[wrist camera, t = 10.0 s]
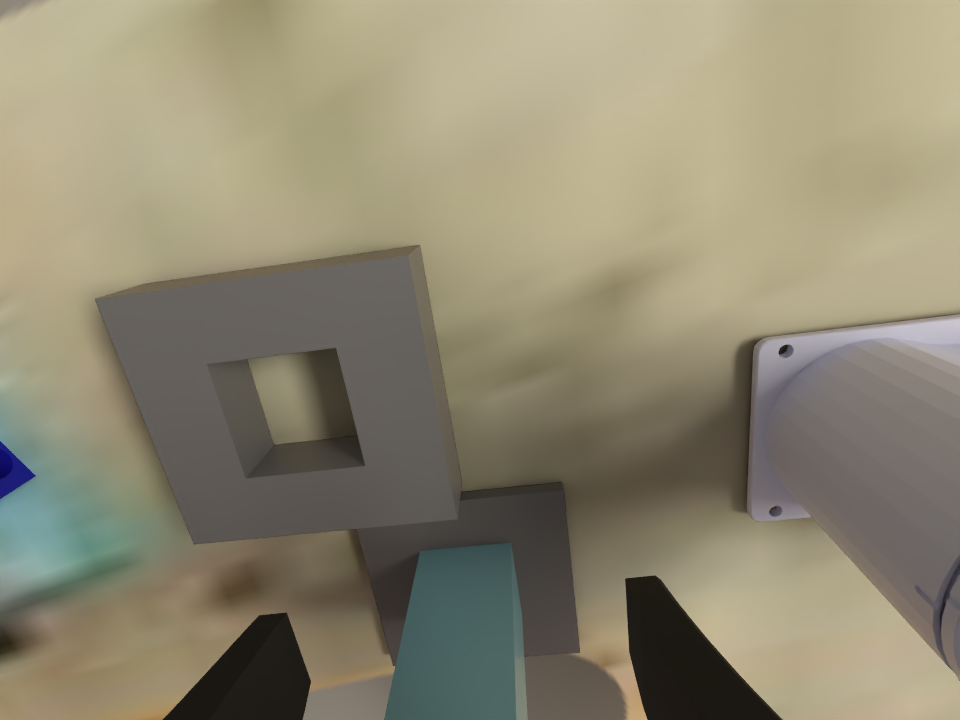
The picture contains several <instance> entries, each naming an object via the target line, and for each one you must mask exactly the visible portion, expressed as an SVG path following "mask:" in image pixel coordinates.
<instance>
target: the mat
mask: <svg viewBox="0 0 960 720" xmlns="http://www.w3.org/2000/svg"><path fill="white" fill-rule="evenodd" d="M356 530H357V533H358V537H359V541H360V544H361V548H362V552H363V556H364V559H365V563H366V567H367V570H368V574H369V578H370V582H371V585H372V589H373V593H374V596H375V600H376V604H377V608H378V611H379V615H380V619H381V622H382V626H383V630H384V634H385V637H386V641H387V645H388V648H389V652H390V656H391V660H392V663H393V666H396V662H397V657H398V653H399V648H400V643H401V638H402V634H403V629H404V624H405V620H406V615H407V610H408V606H409V601H410V596H411V591H412V587H413V582H414V577H415V573H416V568H417V563H418V559H419V554H420V551H428V550H438V549H449V548H459V547H470V546H480V545H491V544H501V543H511V546H512V552H513V559H514V565H515V572H516V578H517V584H518V591H519V597H520V604H521V610H522V623H523V643H524V657H526V656H539V655H554V654H568V653H580V647H579V637H578V627H577V617H576V607H575V597H574V587H573V577H572V567H571V557H570V547H569V538H568V528H567V518H566V508H565V498H564V489H563V484H562V482H559V483H549V484H539V485H529V486H519V487H508V488H498V489H488V490H478V491H468V492H461V495H460V503H459V511H458V519H456V520H445V521H435V522H424V523H414V524H403V525H393V526H382V527H372V528H361V529H356Z"/></svg>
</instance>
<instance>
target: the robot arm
mask: <svg viewBox="0 0 960 720" xmlns="http://www.w3.org/2000/svg"><path fill="white" fill-rule="evenodd" d="M786 344H787V345H788V348H787V351H786V352H785V353H783V354H780V355H779V353H778V352H779V349H780V348H781V347H782V346H783V345H786ZM774 506H777V508H775V509H774V510H772V511H769V510H770V509H771V508H772V507H774ZM747 512H748V514H749V515H750V516H751V518H752V519H753V520H755V521H758V522H765V521H776V520H788V519H799V518H810V517H812V518H813V519H814V520H815V521H816V522H817V523H818V525H819V526H820V527H821V528H822V529H823V530H824V531H825V532H826V533H827V534H828V535H829V537H830V538H831V539H832V540H833V541H834V542H835V543H836V544H837V545H838V546H839V548H840V549H841V550H842V551H843V552H844V553H845V554H846V555H847V556H848V557H849V558H850V560H851V561H852V562H853V563H854V564H855V565H856V566H857V567H858V568H859V569H860V571H861V572H862V573H863V574H864V575H865V576H866V577H867V578H868V579H869V580H870V581H871V583H872V584H873V585H874V586H875V587H876V588H877V589H878V590H879V591H880V592H881V594H882V595H883V596H884V597H885V598H886V599H887V600H888V601H889V602H890V603H891V604H892V606H893V607H894V608H895V609H896V610H897V611H898V612H899V613H900V614H901V615H902V617H903V618H904V619H905V620H906V621H907V622H908V623H909V624H910V625H911V626H912V627H913V629H914V630H915V631H916V632H917V633H918V634H919V635H920V636H921V637H922V638H923V640H924V641H925V642H926V643H927V644H928V645H929V646H930V647H931V648H932V649H933V650H934V652H935V653H936V654H937V655H938V656H939V657H940V658H941V659H942V660H943V661H944V663H945V664H946V665H947V666H948V667H949V668H950V669H951V670H952V671H953V672H954V673H955V674H956V676H957V677H958V679H959V681H960V314H958V315H950V316H941V317H933V318H925V319H916V320H908V321H899V322H891V323H882V324H874V325H866V326H857V327H849V328H840V329H832V330H823V331H815V332H807V333H798V334H790V335H781V336H773V337H766V338H763V339H761V340H760V341H758V342H757V344H756V345H755V346H754V350H753V368H752V392H751V416H750V440H749V464H748V489H747ZM625 581H626V599H627V617H628V635H629V652H630V656H631V660H632V664H633V668H634V673H635V677H636V681H637V684H638V688H639V692H640V696H641V700H642V704H643V708H644V710H645V713H646V716H647V719H648V720H782V719H781V718H780V717H779V716H778V715H777V714H776V713H775V712H774V711H773V710H772V708H771V707H770V706H769V705H768V704H767V703H766V702H765V701H764V700H763V699H762V698H761V697H760V696H759V695H758V694H757V693H756V692H755V691H754V690H753V689H752V688H751V687H750V686H749V685H748V684H747V683H746V681H745V680H744V679H743V678H742V677H741V676H740V675H739V674H738V673H737V672H736V671H735V669H734V668H733V667H732V666H731V665H730V664H729V663H728V662H727V661H726V659H725V658H724V657H723V656H722V655H721V654H720V653H719V652H718V650H717V649H716V648H715V647H714V646H713V645H712V644H711V642H710V641H709V640H708V639H707V638H706V637H705V635H704V634H703V633H702V632H701V631H700V629H699V628H698V627H697V626H696V625H695V623H694V622H693V621H692V620H691V618H690V617H689V616H688V615H687V614H686V612H685V611H684V610H683V609H682V607H681V606H680V605H679V603H678V602H677V601H676V600H675V598H674V597H673V596H672V594H671V593H670V592H669V590H668V589H667V588H666V586H665V585H664V583H663V582H662V581H661V579H659V578H658V577H657V576H646V577H636V578H626V579H625ZM310 684H311V681H310V678H309V675H308V672H307V669H306V666H305V663H304V661H303V658H302V655H301V652H300V649H299V646H298V643H297V641H296V638H295V635H294V632H293V629H292V626H291V624H290V621H289V618H288V615H287V613H278V614H269V615H259V616H258V617H257V618H256V620H255V621H254V622H253V623H252V624H251V625H250V626H249V627H248V628H247V629H246V630H245V631H244V632H243V633H242V634H241V636H240V637H239V638H238V639H237V640H236V641H235V642H234V643H233V644H232V645H231V647H230V648H229V649H228V650H227V651H226V652H225V653H224V654H223V655H222V656H221V658H220V659H219V660H218V661H217V662H216V663H215V664H214V665H213V666H212V667H211V669H210V670H209V671H208V672H207V673H206V674H205V675H204V676H203V677H202V678H201V679H200V680H199V682H198V683H197V684H196V685H195V686H194V687H193V688H192V689H191V690H190V691H189V692H188V693H187V695H186V696H185V697H184V698H183V699H182V700H181V701H180V702H179V703H178V704H177V705H176V706H175V707H174V709H173V710H172V711H171V712H170V713H169V714H168V715H167V716H166V717H165V718H164V719H163V720H302V719H303V715H304V711H305V707H306V702H307V698H308V693H309V688H310Z"/></svg>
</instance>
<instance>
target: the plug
mask: <svg viewBox="0 0 960 720" xmlns="http://www.w3.org/2000/svg"><path fill="white" fill-rule="evenodd" d="M526 703H527V702H526V683H525V663H524V643H523V623H522V610H521V604H520V597H519V591H518V584H517V578H516V572H515V565H514V559H513V552H512V546H511V543H501V544H491V545H480V546H470V547H459V548H449V549H438V550H428V551H420V554H419V559H418V563H417V568H416V573H415V577H414V582H413V587H412V591H411V596H410V601H409V606H408V610H407V615H406V620H405V624H404V629H403V634H402V638H401V643H400V648H399V653H398V657H397V662H396V667H395V671H394V676H393V681H392V686H391V690H390V695H389V700H388V704H387V709H386V714H385V718H384V720H527V704H526Z"/></svg>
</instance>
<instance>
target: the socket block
mask: <svg viewBox="0 0 960 720" xmlns="http://www.w3.org/2000/svg"><path fill="white" fill-rule="evenodd" d="M95 301H96V303H97V306H98V308H99V311H100V313H101V316H102V318H103V321H104V323H105V326H106V328H107V331H108V333H109V336H110V338H111V340H112V343H113V345H114V348H115V350H116V353H117V355H118V358H119V360H120V363H121V365H122V368H123V370H124V373H125V375H126V378H127V380H128V383H129V385H130V388H131V390H132V392H133V395H134V397H135V400H136V402H137V405H138V407H139V410H140V412H141V415H142V417H143V420H144V422H145V425H146V427H147V430H148V432H149V435H150V437H151V440H152V442H153V444H154V447H155V449H156V452H157V454H158V457H159V459H160V462H161V464H162V467H163V469H164V472H165V474H166V477H167V479H168V482H169V484H170V487H171V489H172V492H173V494H174V496H175V499H176V501H177V504H178V506H179V509H180V511H181V514H182V516H183V519H184V521H185V524H186V526H187V529H188V531H189V534H190V536H191V539H192V541H193V544H203V543H214V542H224V541H235V540H245V539H256V538H266V537H277V536H287V535H298V534H308V533H319V532H329V531H340V530H351V529H361V528H372V527H382V526H393V525H403V524H414V523H424V522H435V521H445V520H456V519H458V511H459V503H460V495H461V487H462V479H461V473H460V467H459V462H458V456H457V451H456V445H455V439H454V434H453V428H452V423H451V417H450V411H449V406H448V400H447V394H446V389H445V383H444V378H443V372H442V366H441V361H440V355H439V350H438V344H437V338H436V333H435V327H434V322H433V316H432V310H431V305H430V299H429V293H428V288H427V282H426V277H425V271H424V265H423V260H422V254H421V249H420V245H417V246H410V247H403V248H396V249H389V250H382V251H375V252H368V253H360V254H353V255H346V256H339V257H332V258H325V259H318V260H311V261H304V262H297V263H289V264H282V265H275V266H268V267H261V268H254V269H247V270H240V271H233V272H225V273H218V274H211V275H204V276H197V277H190V278H183V279H176V280H169V281H162V282H154V283H147V284H143V285H139V286H136V287H133V288H129V289H126V290H123V291H120V292H116V293H113V294H110V295H106V296H103V297H100V298H97V299H95ZM331 348H336V350H337V354H338V358H339V362H340V366H341V370H342V374H343V378H344V382H345V386H346V390H347V394H348V398H349V402H350V406H351V410H352V414H353V419H354V423H355V427H356V431H357V435H358V436H353V437H344V438H335V439H326V440H317V441H308V442H298V443H289V444H280V445H274V444H273V441H272V438H271V435H270V431H269V428H268V425H267V422H266V419H265V416H264V412H263V409H262V406H261V403H260V400H259V396H258V393H257V390H256V387H255V384H254V380H253V377H252V374H251V371H250V368H249V365H248V361H247V359H252V358H260V357H268V356H276V355H284V354H292V353H300V352H307V351H315V350H323V349H331Z"/></svg>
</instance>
